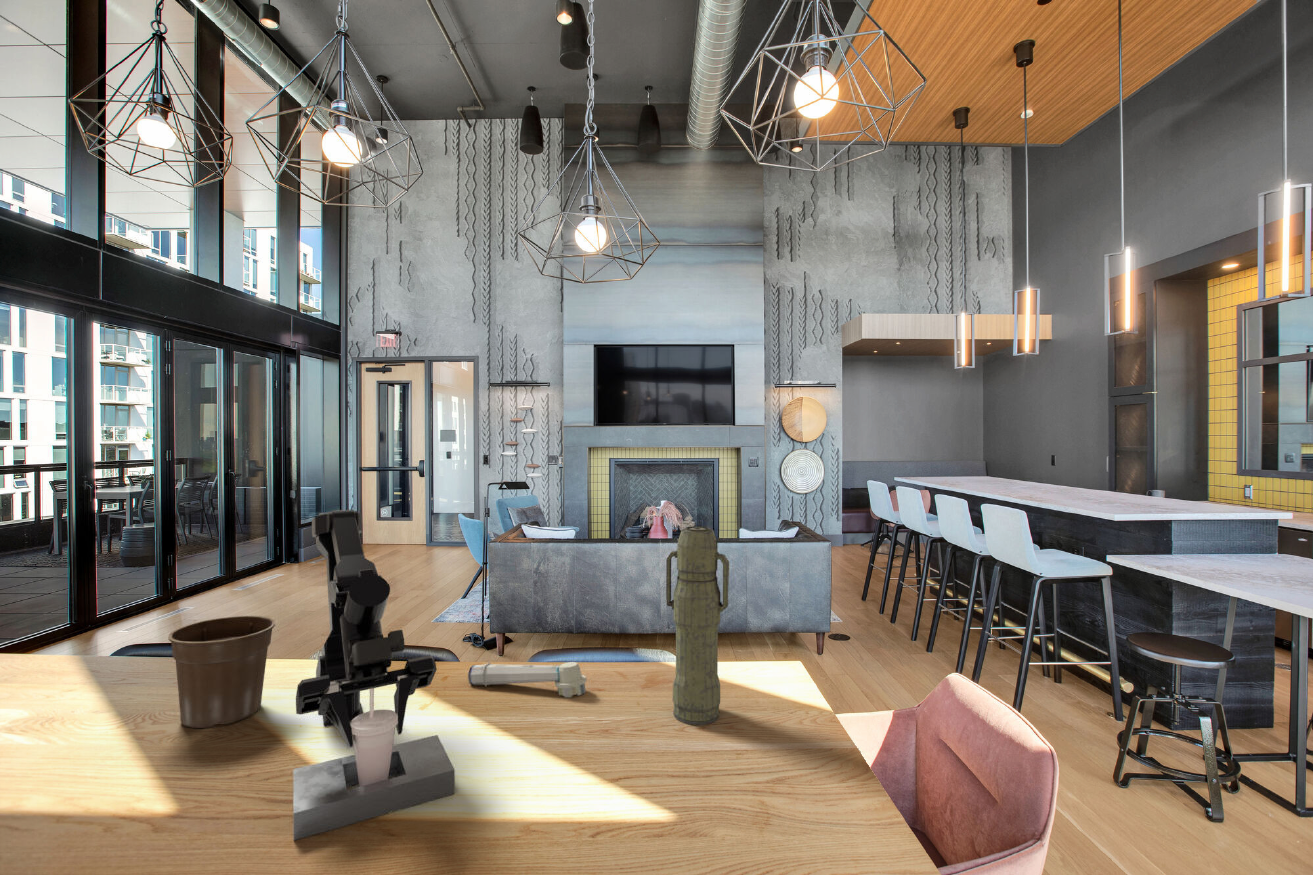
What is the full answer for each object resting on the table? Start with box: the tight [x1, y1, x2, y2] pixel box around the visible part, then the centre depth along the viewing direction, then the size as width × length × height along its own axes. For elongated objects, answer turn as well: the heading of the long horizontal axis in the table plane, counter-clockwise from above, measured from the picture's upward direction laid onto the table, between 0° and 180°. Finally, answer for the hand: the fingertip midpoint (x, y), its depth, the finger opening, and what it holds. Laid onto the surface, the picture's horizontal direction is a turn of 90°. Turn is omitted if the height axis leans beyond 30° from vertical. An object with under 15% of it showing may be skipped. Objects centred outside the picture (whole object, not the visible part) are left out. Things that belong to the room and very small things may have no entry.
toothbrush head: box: [467, 661, 587, 698], centre depth 125 cm, size 5×7×25 cm
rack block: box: [292, 734, 456, 841], centre depth 87 cm, size 12×20×4 cm, turn 121°
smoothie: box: [350, 688, 398, 787], centre depth 88 cm, size 6×6×14 cm
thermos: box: [665, 525, 730, 726], centre depth 114 cm, size 9×12×35 cm
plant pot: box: [167, 615, 276, 729], centre depth 112 cm, size 16×16×16 cm
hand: (375, 739), depth 87 cm, fingers closed on smoothie, 6 cm apart
